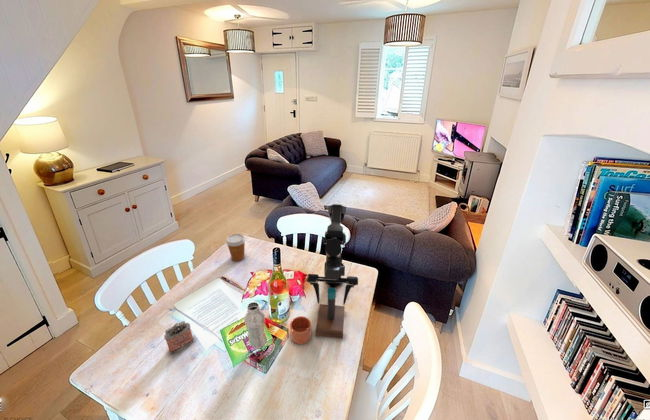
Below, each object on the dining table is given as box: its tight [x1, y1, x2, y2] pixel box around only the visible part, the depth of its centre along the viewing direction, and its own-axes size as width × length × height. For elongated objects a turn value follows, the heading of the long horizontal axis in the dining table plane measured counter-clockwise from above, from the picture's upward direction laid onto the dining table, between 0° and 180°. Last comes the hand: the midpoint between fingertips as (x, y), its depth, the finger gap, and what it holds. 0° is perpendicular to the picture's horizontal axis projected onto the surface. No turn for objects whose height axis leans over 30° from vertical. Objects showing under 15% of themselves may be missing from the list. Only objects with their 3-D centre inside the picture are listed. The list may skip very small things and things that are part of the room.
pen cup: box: [289, 315, 312, 345], centre depth 98 cm, size 7×7×6 cm
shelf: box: [315, 303, 346, 340], centre depth 103 cm, size 12×10×4 cm
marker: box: [326, 287, 337, 320], centre depth 99 cm, size 3×3×13 cm
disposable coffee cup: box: [225, 233, 246, 262], centre depth 139 cm, size 10×10×12 cm
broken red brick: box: [163, 320, 195, 355], centre depth 92 cm, size 8×3×10 cm, turn 134°
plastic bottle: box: [243, 301, 268, 349], centre depth 89 cm, size 6×7×20 cm
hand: (331, 304), depth 97 cm, fingers open, 9 cm apart
